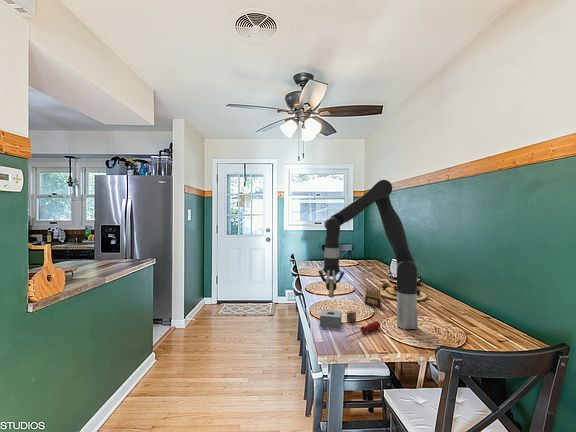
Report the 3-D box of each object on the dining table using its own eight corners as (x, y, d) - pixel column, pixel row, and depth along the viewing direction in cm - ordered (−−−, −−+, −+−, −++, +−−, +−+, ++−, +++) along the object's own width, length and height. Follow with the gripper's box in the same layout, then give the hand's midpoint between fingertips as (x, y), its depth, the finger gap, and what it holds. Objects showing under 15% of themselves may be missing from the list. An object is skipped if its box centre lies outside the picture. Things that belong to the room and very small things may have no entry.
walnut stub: (356, 319, 158) (356, 311, 158) (355, 322, 154) (355, 314, 154) (346, 319, 159) (346, 310, 159) (346, 322, 155) (346, 313, 155)
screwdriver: (342, 339, 132) (342, 331, 132) (374, 327, 148) (374, 320, 148) (348, 342, 129) (348, 334, 129) (380, 329, 145) (380, 321, 145)
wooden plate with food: (368, 292, 217) (368, 281, 217) (401, 288, 230) (401, 277, 230) (402, 305, 188) (402, 292, 188) (437, 300, 201) (437, 287, 201)
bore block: (341, 320, 156) (341, 311, 156) (340, 327, 147) (340, 317, 147) (322, 319, 159) (322, 309, 159) (319, 325, 149) (319, 315, 149)
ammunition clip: (381, 307, 182) (381, 287, 182) (380, 307, 180) (380, 287, 181) (366, 303, 190) (366, 284, 190) (364, 303, 188) (364, 284, 188)
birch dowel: (334, 296, 154) (334, 278, 154) (333, 297, 151) (333, 279, 151) (328, 296, 154) (329, 278, 154) (328, 297, 152) (328, 279, 152)
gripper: (345, 256, 155) (345, 289, 155) (319, 255, 158) (318, 287, 158) (345, 258, 148) (344, 293, 147) (317, 256, 151) (316, 290, 151)
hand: (331, 290), depth 153 cm, fingers closed on birch dowel, 2 cm apart
